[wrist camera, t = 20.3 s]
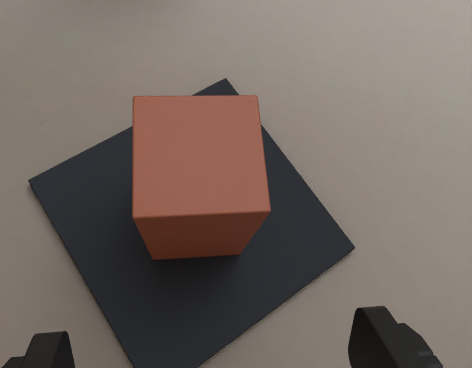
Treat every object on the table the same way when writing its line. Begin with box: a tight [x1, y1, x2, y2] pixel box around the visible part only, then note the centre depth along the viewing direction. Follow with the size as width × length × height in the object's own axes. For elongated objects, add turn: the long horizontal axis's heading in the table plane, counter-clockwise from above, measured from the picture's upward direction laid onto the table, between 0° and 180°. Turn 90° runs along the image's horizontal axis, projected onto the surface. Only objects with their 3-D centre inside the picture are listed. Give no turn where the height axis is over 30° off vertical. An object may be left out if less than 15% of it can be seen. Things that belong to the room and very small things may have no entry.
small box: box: [132, 95, 271, 260], centre depth 19 cm, size 5×5×9 cm
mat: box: [28, 78, 355, 368], centre depth 24 cm, size 14×14×1 cm
